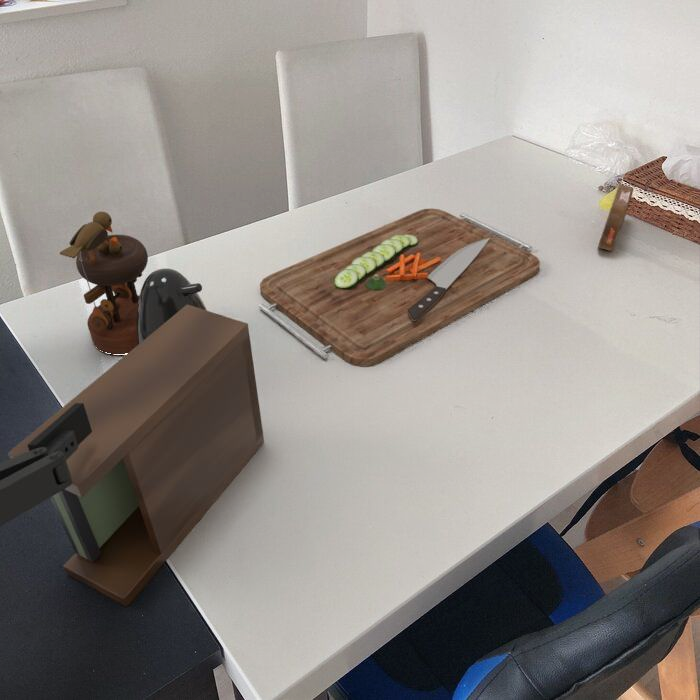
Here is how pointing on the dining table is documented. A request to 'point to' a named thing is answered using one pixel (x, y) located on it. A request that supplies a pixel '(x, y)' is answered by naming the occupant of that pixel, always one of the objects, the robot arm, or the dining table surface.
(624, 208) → the tin
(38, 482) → the robot arm
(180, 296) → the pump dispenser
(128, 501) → the sliding door
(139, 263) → the music box
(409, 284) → the chopping board
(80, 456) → the cabinet frame
